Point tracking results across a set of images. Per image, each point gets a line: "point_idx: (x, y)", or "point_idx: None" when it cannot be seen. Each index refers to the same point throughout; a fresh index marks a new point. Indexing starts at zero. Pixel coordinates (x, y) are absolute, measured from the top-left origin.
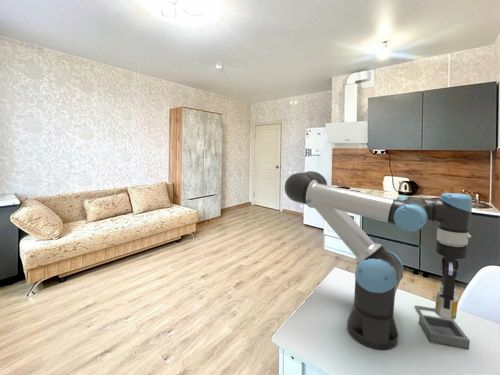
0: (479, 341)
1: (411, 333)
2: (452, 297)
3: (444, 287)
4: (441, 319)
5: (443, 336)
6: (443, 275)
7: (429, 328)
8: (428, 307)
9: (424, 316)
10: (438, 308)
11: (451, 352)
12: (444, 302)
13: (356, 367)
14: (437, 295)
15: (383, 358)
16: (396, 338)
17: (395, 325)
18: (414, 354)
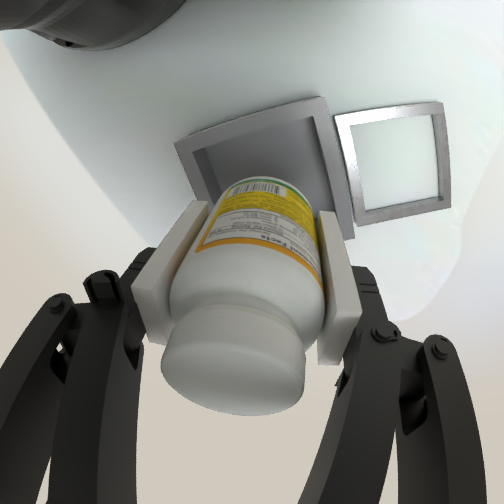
0: None
1: (203, 70)
2: (63, 355)
3: (3, 373)
4: (333, 192)
5: (193, 185)
6: (325, 485)
7: (210, 135)
8: (449, 159)
9: (316, 119)
10: (218, 206)
11: (179, 195)
12: (121, 277)
13: (6, 34)
14: (215, 245)
15: (43, 51)
16: (81, 49)
17: (79, 31)
18: (96, 101)
